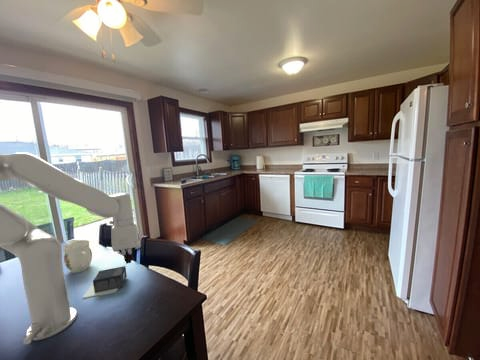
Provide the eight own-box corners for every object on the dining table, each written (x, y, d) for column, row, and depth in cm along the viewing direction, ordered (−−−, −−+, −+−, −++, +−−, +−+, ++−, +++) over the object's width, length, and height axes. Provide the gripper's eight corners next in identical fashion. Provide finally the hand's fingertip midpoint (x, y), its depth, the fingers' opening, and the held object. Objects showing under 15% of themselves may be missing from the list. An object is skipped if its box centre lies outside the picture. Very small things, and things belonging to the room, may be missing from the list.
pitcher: (75, 280, 94) (70, 252, 93) (61, 270, 104) (56, 244, 103) (101, 269, 103) (97, 243, 102) (86, 260, 113) (82, 236, 112)
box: (127, 277, 94) (100, 282, 91) (125, 265, 94) (99, 270, 91) (122, 287, 87) (94, 293, 84) (121, 275, 86) (92, 280, 83)
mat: (116, 292, 85) (115, 291, 85) (82, 298, 82) (82, 297, 82) (124, 275, 96) (124, 275, 96) (95, 281, 93) (95, 280, 93)
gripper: (100, 227, 83) (107, 269, 85) (140, 222, 86) (145, 262, 89) (107, 221, 90) (113, 261, 92) (144, 217, 94) (148, 254, 96)
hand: (129, 261), depth 91 cm, fingers closed
